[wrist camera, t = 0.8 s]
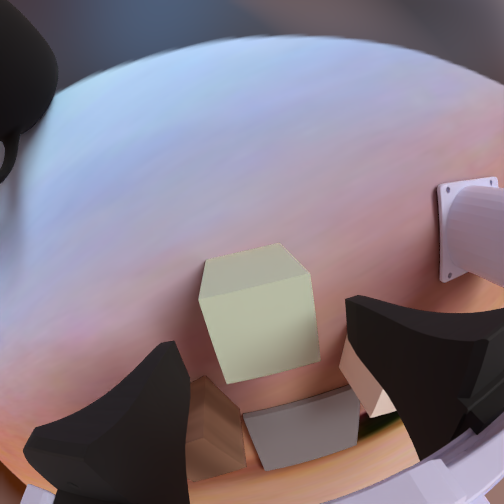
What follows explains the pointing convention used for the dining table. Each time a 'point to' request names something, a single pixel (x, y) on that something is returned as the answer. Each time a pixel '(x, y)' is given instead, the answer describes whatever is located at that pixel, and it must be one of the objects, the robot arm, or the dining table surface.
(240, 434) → the walnut block
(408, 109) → the dining table surface
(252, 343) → the green block
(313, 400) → the coaster
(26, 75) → the mug
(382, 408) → the cream block
